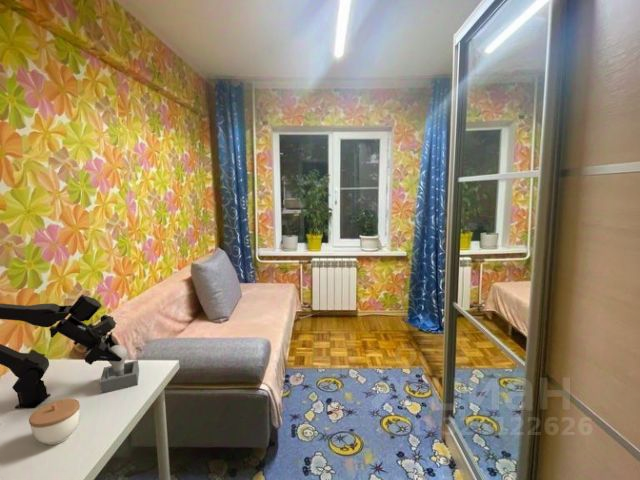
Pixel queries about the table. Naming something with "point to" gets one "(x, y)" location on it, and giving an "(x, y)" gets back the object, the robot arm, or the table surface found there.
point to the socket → (119, 377)
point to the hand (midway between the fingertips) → (121, 356)
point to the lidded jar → (55, 421)
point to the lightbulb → (119, 366)
